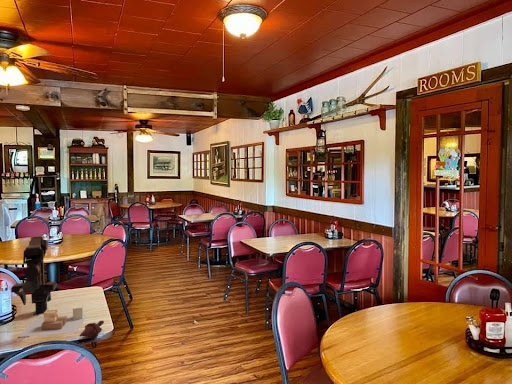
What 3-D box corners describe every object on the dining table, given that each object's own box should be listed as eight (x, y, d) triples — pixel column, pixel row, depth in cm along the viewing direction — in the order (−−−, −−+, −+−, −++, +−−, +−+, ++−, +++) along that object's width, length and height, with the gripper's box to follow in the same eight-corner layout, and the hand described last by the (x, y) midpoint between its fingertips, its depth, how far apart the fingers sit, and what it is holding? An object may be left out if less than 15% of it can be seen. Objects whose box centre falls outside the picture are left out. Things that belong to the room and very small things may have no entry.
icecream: (88, 331, 173) (110, 321, 187) (75, 325, 175) (98, 316, 189) (84, 345, 173) (106, 335, 188) (71, 339, 175) (94, 329, 190)
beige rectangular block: (73, 316, 205) (73, 305, 204) (82, 315, 206) (82, 304, 206) (73, 319, 201) (72, 308, 200) (82, 318, 202) (82, 307, 202)
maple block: (47, 318, 194) (46, 309, 194) (57, 318, 195) (57, 308, 195) (43, 322, 189) (43, 313, 189) (54, 322, 190) (54, 312, 190)
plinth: (47, 323, 196) (47, 317, 196) (66, 322, 198) (66, 316, 198) (41, 331, 188) (41, 324, 187) (61, 329, 189) (61, 323, 189)
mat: (34, 319, 202) (34, 318, 202) (87, 315, 207) (87, 314, 207) (18, 337, 180) (18, 336, 180) (77, 333, 186) (77, 332, 186)
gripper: (4, 278, 175) (6, 311, 176) (48, 276, 178) (49, 309, 180) (15, 271, 186) (16, 303, 187) (56, 270, 189) (57, 300, 190)
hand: (35, 304), depth 186 cm, fingers open, 9 cm apart
